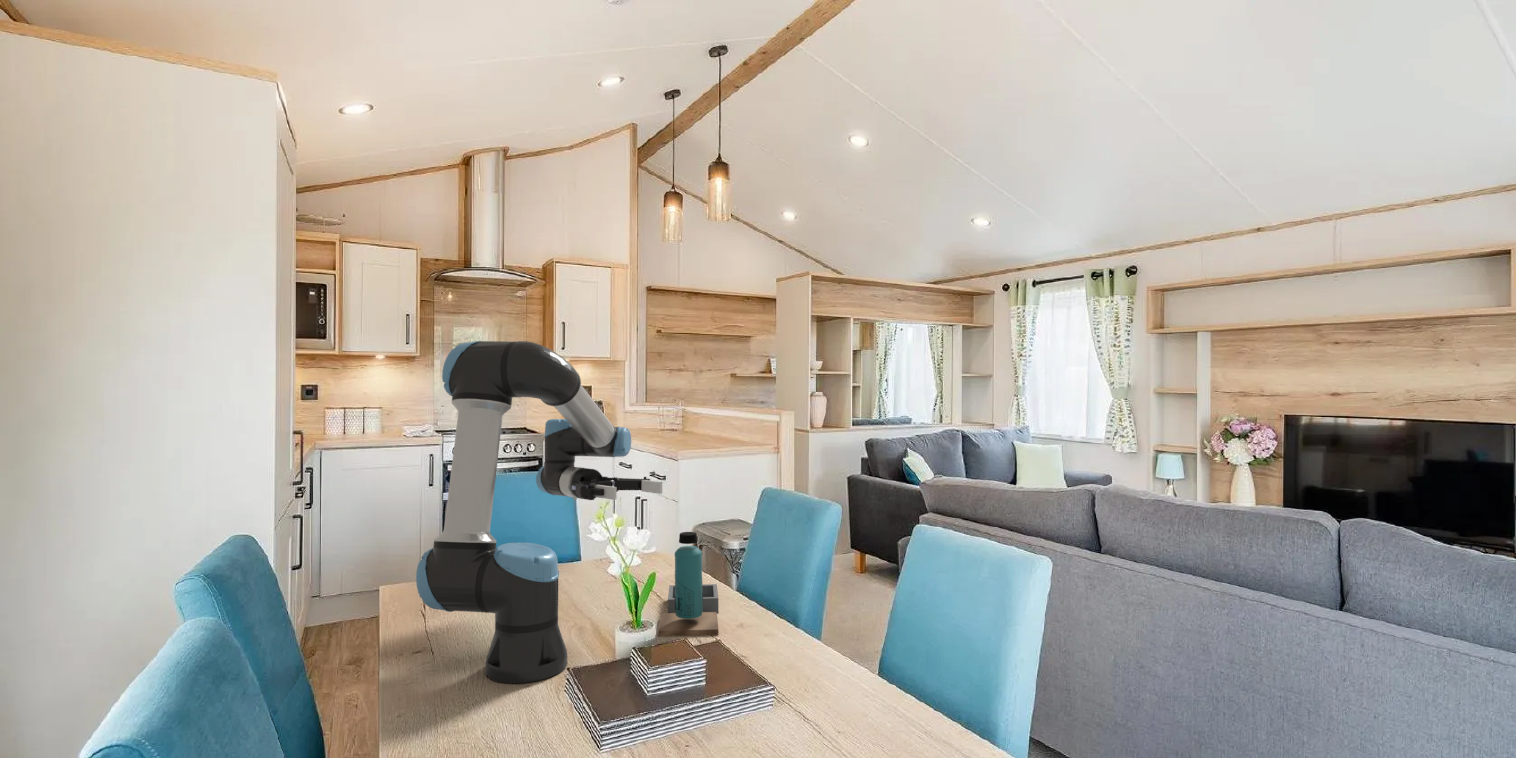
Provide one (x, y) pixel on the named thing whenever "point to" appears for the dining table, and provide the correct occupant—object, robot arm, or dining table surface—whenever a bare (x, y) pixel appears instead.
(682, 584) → the beverage bottle
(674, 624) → the walnut board
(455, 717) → the dining table surface
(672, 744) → the dining table surface
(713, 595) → the gray square tray
